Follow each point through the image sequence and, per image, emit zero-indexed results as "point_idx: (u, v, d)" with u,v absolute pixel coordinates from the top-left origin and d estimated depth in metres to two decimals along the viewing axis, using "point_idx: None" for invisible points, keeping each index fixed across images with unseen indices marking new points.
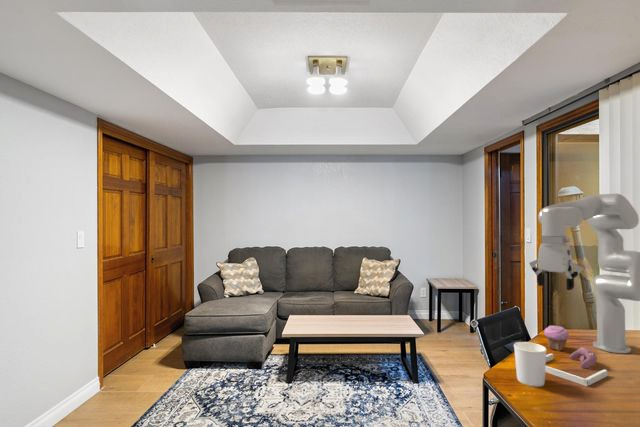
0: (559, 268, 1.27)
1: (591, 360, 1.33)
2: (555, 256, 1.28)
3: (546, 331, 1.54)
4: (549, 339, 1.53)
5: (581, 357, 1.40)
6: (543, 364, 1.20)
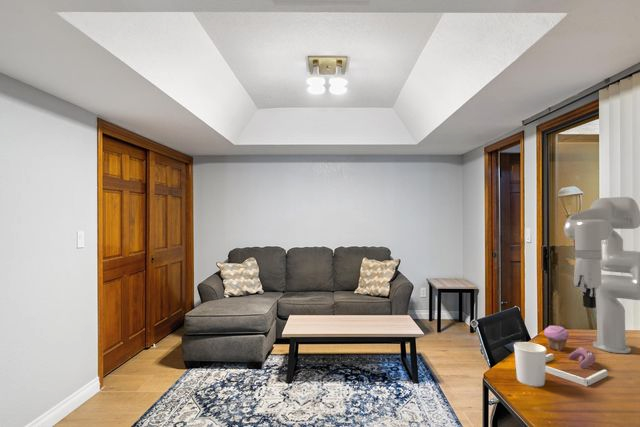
0: (599, 282, 1.25)
1: (590, 360, 1.33)
2: (598, 271, 1.24)
3: (546, 331, 1.54)
4: (549, 339, 1.53)
5: (580, 357, 1.40)
6: (543, 364, 1.20)
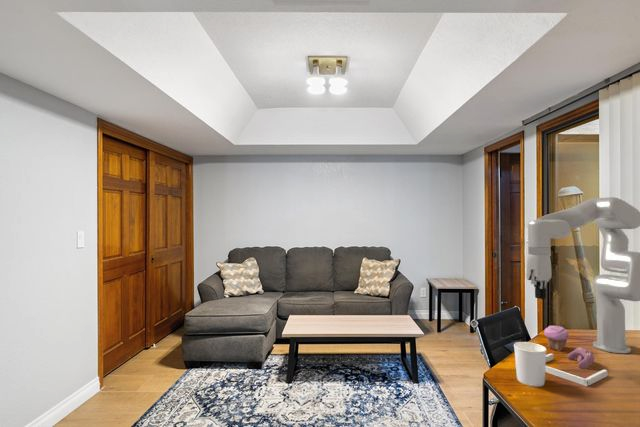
0: (549, 276, 1.39)
1: (589, 360, 1.33)
2: (548, 265, 1.39)
3: (546, 331, 1.54)
4: (549, 339, 1.53)
5: (578, 357, 1.40)
6: (543, 364, 1.20)
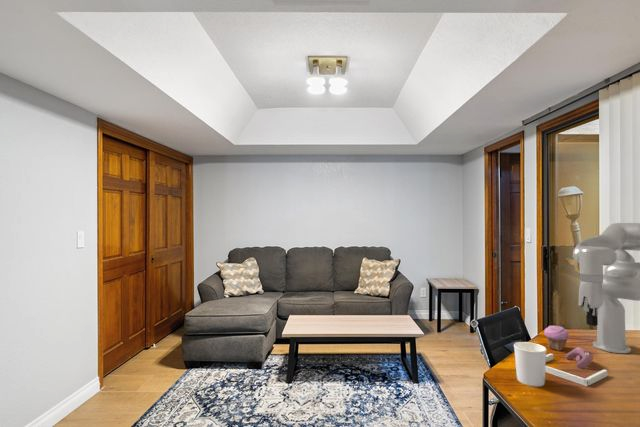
0: (601, 303, 1.41)
1: (587, 359, 1.33)
2: (600, 293, 1.40)
3: (546, 331, 1.54)
4: (549, 339, 1.53)
5: (577, 357, 1.40)
6: (543, 364, 1.20)
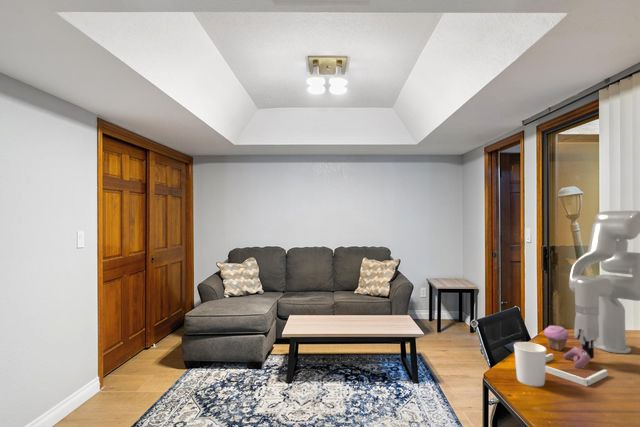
0: (597, 335, 1.39)
1: (585, 359, 1.33)
2: (596, 325, 1.38)
3: (546, 331, 1.54)
4: (549, 339, 1.53)
5: (575, 357, 1.40)
6: (543, 364, 1.20)
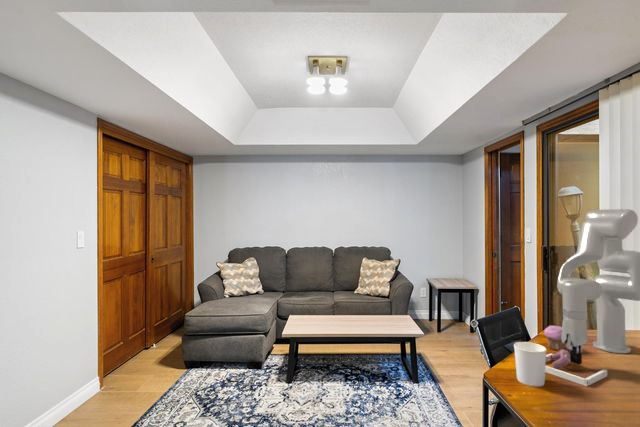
0: (585, 340, 1.34)
1: (563, 361, 1.32)
2: (584, 329, 1.33)
3: (546, 331, 1.54)
4: (549, 339, 1.53)
5: None
6: (543, 364, 1.20)
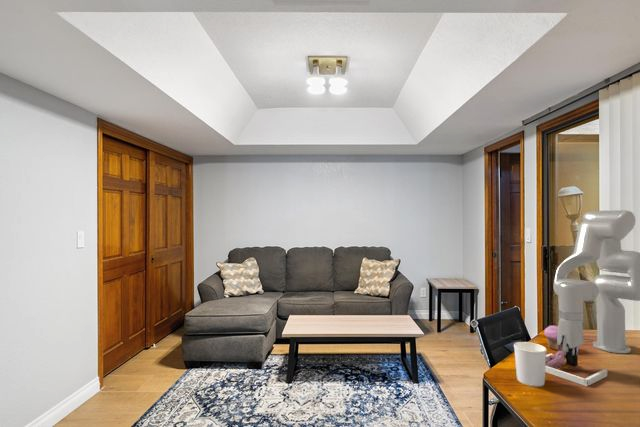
0: (581, 341, 1.32)
1: (557, 361, 1.32)
2: (580, 331, 1.32)
3: (546, 331, 1.54)
4: (549, 339, 1.53)
5: None
6: (543, 364, 1.20)
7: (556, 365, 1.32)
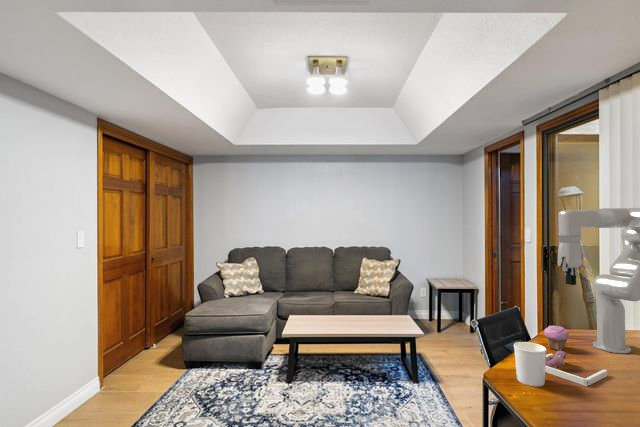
0: (579, 263, 1.46)
1: (555, 361, 1.32)
2: (578, 253, 1.45)
3: (546, 331, 1.54)
4: (549, 339, 1.53)
5: None
6: (543, 364, 1.20)
7: (555, 365, 1.32)
